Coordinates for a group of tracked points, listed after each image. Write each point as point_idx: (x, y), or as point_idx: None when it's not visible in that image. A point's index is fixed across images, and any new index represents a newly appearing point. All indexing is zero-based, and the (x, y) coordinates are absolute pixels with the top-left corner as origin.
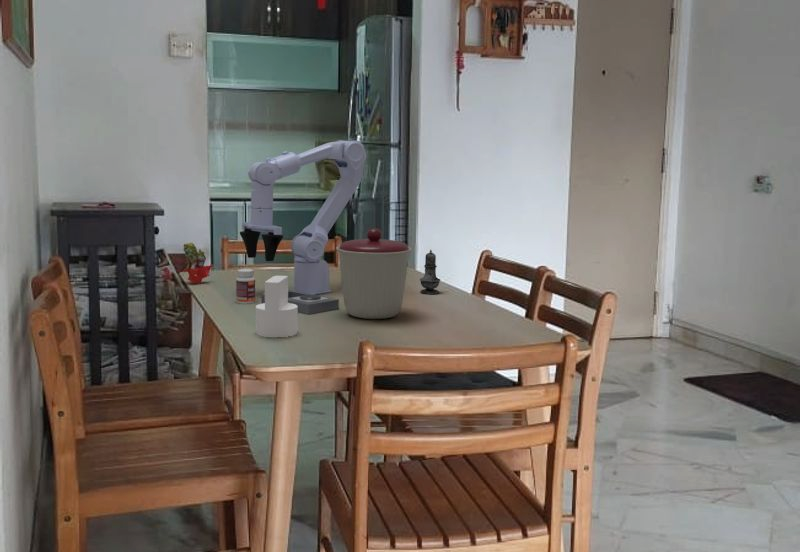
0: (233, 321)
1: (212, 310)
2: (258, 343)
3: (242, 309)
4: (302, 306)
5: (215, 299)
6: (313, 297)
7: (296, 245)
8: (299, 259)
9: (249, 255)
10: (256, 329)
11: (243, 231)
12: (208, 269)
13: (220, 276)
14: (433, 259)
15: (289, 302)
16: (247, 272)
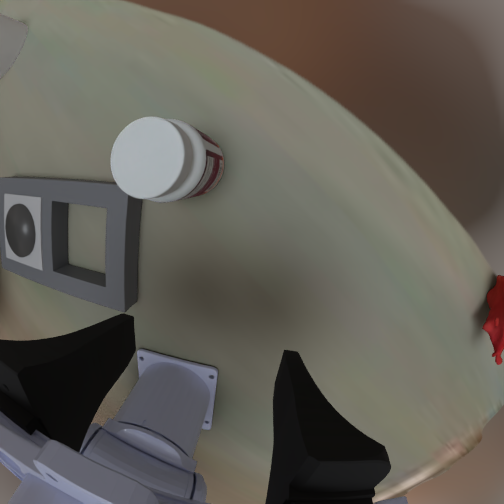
0: (83, 20)
1: (191, 28)
2: (13, 13)
3: (133, 90)
4: (14, 177)
5: (315, 138)
6: (11, 229)
7: (145, 484)
8: (134, 434)
9: (283, 358)
10: (19, 21)
11: (370, 485)
12: (495, 341)
13: (477, 391)
14: None
15: (38, 178)
16: (118, 140)
